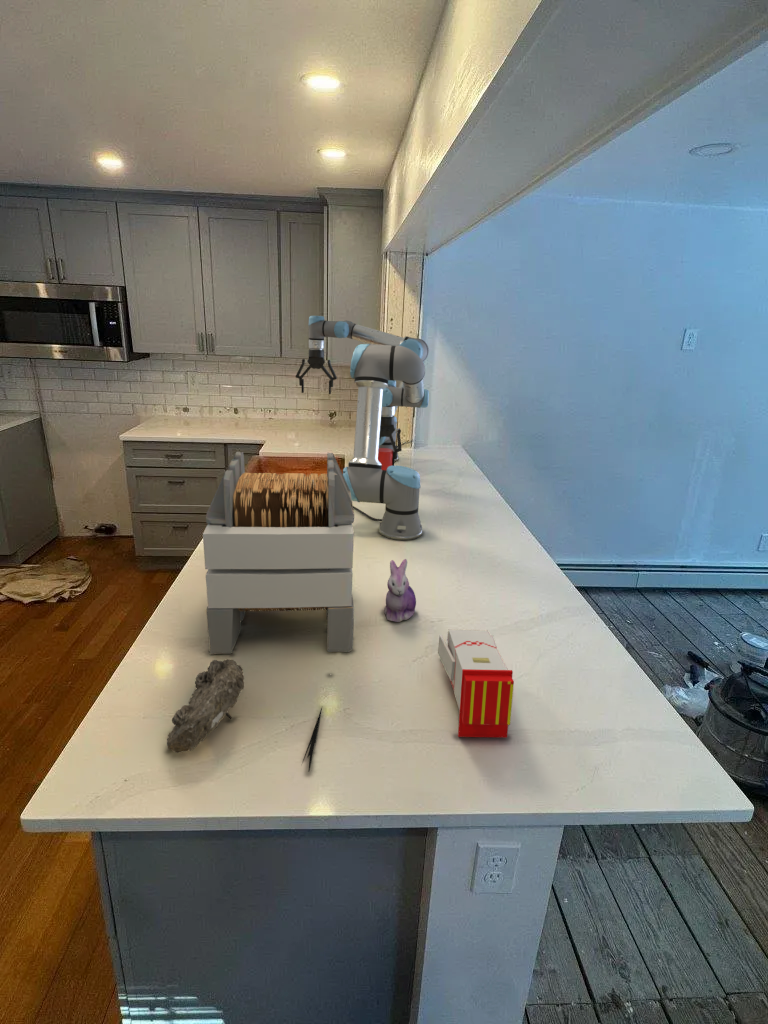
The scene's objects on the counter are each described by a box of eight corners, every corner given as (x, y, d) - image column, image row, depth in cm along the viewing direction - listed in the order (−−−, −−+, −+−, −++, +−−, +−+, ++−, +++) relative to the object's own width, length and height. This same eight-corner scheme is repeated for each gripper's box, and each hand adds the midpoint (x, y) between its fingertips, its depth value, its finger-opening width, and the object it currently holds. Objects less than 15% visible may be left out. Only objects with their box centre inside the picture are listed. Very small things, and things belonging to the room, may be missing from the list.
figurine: (392, 627, 141) (395, 572, 136) (374, 608, 149) (376, 556, 144) (425, 619, 145) (429, 566, 140) (405, 601, 154) (408, 550, 149)
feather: (331, 679, 122) (336, 673, 122) (307, 777, 96) (313, 769, 95) (324, 675, 122) (329, 669, 121) (298, 772, 95) (304, 764, 95)
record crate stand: (229, 585, 158) (221, 442, 144) (346, 584, 161) (350, 444, 148) (206, 656, 126) (193, 481, 112) (353, 652, 130) (358, 483, 116)
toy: (488, 613, 130) (523, 677, 101) (484, 667, 133) (517, 744, 104) (435, 612, 130) (455, 676, 101) (432, 666, 133) (451, 743, 103)
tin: (372, 472, 257) (373, 448, 253) (387, 471, 260) (389, 447, 256) (378, 476, 251) (379, 452, 247) (394, 475, 253) (395, 451, 250)
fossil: (192, 660, 117) (244, 628, 112) (224, 691, 120) (276, 661, 115) (142, 746, 98) (202, 712, 93) (182, 779, 101) (242, 748, 96)
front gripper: (408, 414, 251) (405, 464, 259) (361, 413, 249) (360, 463, 256) (410, 417, 244) (407, 468, 252) (363, 416, 242) (361, 468, 249)
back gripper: (289, 348, 273) (290, 393, 280) (341, 350, 273) (340, 395, 280) (292, 347, 280) (292, 390, 287) (342, 349, 280) (341, 393, 287)
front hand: (383, 466), depth 254 cm, fingers closed on tin, 8 cm apart
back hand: (316, 393), depth 284 cm, fingers open, 13 cm apart
